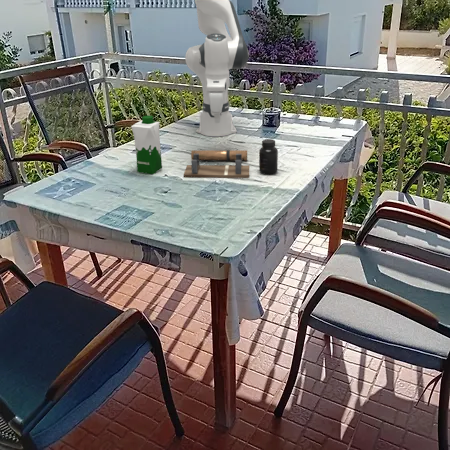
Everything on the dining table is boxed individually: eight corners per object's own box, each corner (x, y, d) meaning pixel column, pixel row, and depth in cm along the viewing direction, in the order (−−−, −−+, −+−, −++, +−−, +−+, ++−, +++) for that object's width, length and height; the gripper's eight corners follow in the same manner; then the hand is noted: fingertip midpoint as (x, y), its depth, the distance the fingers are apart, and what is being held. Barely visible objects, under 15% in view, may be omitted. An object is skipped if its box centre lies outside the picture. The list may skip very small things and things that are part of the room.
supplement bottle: (267, 167, 183) (268, 136, 177) (281, 171, 178) (282, 140, 173) (255, 172, 179) (255, 141, 173) (269, 176, 174) (269, 145, 169)
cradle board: (187, 167, 184) (187, 164, 183) (249, 167, 182) (249, 165, 182) (183, 177, 175) (183, 174, 175) (249, 177, 174) (249, 175, 173)
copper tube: (191, 160, 188) (191, 149, 188) (192, 161, 192) (192, 150, 192) (247, 160, 187) (247, 149, 186) (247, 161, 191) (247, 150, 190)
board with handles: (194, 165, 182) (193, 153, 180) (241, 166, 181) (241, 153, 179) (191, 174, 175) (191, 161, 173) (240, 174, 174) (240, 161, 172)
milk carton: (165, 167, 184) (161, 116, 175) (154, 175, 177) (149, 122, 168) (145, 164, 187) (140, 114, 178) (133, 173, 180) (127, 120, 170)
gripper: (211, 76, 184) (212, 112, 191) (206, 87, 166) (207, 126, 173) (227, 76, 184) (228, 112, 190) (224, 87, 166) (225, 126, 172)
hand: (218, 119), depth 181 cm, fingers open, 8 cm apart
